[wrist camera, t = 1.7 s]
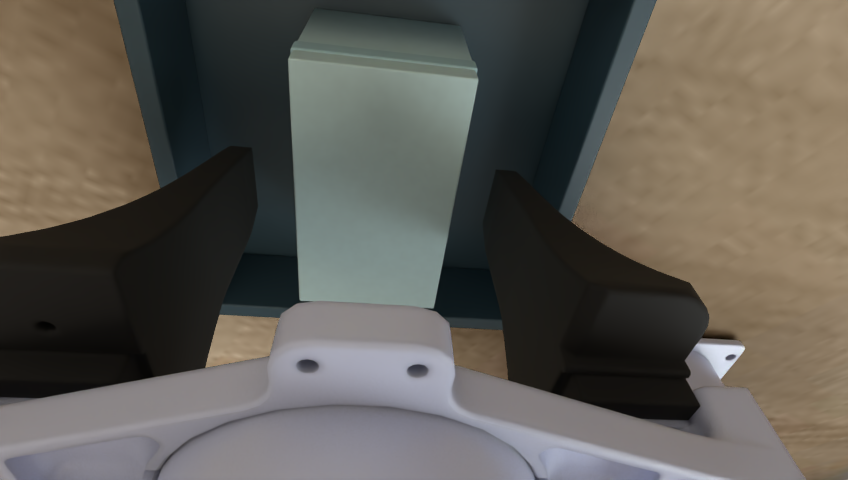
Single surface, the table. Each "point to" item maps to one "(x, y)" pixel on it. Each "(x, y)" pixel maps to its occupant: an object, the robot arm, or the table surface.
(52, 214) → the table surface
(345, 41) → the case
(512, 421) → the robot arm
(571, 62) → the tray
